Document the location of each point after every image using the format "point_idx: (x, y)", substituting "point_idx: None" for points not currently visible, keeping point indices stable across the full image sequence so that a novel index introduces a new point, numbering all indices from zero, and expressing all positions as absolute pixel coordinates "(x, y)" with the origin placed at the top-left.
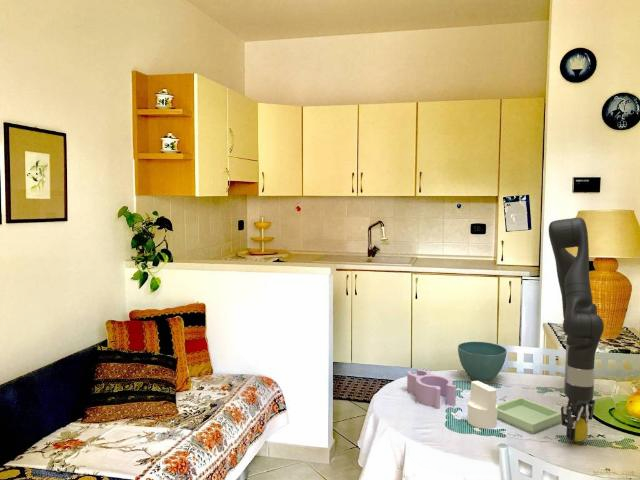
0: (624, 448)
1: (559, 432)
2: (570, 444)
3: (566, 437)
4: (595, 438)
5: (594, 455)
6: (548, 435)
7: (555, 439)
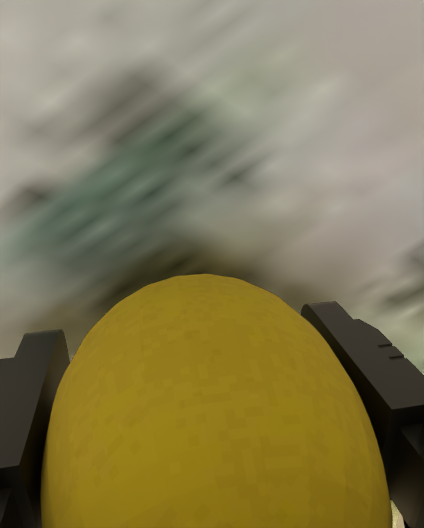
0: (392, 507)
1: (250, 50)
2: (74, 325)
3: (24, 337)
4: (410, 344)
5: None
6: (9, 14)
7: (6, 161)
